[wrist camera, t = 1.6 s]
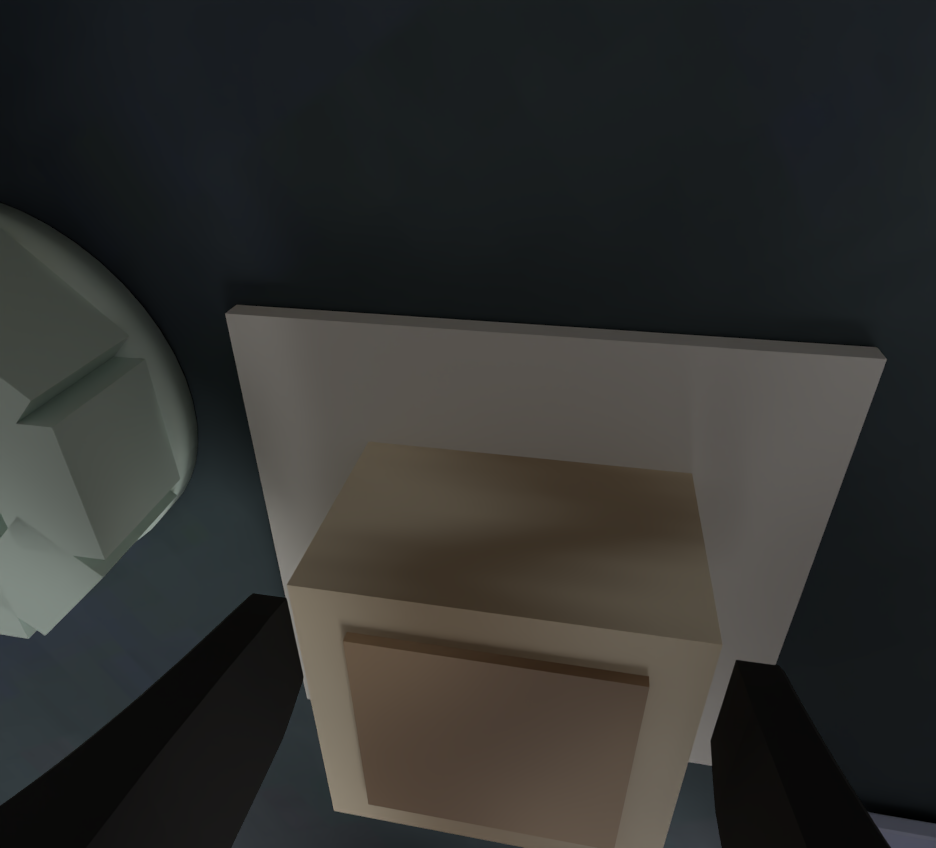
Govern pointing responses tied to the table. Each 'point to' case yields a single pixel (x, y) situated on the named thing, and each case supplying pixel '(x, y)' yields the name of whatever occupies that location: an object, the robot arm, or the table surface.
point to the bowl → (78, 424)
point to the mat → (571, 431)
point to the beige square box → (508, 645)
